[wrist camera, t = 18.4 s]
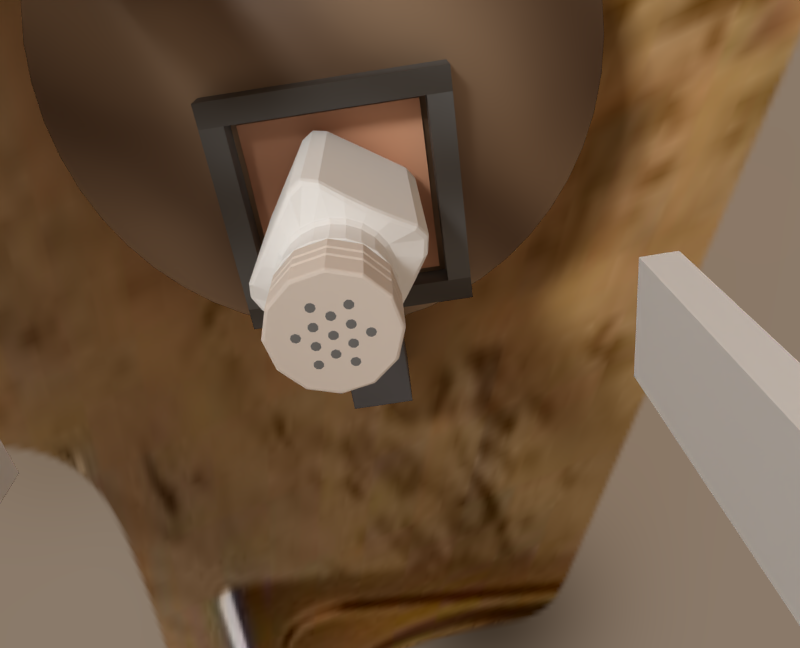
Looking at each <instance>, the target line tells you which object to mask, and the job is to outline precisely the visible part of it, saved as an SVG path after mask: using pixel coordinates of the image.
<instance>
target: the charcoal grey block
mask: <svg viewBox="0 0 800 648" xmlns="http://www.w3.org/2000/svg"><path fill="white" fill-rule="evenodd" d="M351 392H352V397H353V402H354V406H355V409H357V408H364V407H371V406H378V405H385V404H391V403H398V402H405V401H412V393H411V384H410V376H409V367H408V360H407V353H406V347H405V341H404V338H403V342H402V347H401V351H400V356H399V359H398V360H397V361H396V362H395V363H394V364H393V365H392V366H391V367H390V368H389V369H388V370H387V371H386V372H385V373H384V374H383V375H382V376H381V377H380V378H379V379H378V380H377V381H376V382H375V383H373V384H370V385H367V386H364V387H361V388H358V389H355V390H351Z"/></svg>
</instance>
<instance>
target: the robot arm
mask: <svg viewBox="0 0 800 648" xmlns="http://www.w3.org/2000/svg"><path fill="white" fill-rule="evenodd" d="M634 377H635V378H636V380H637V381H638V383H639V384H640V386H641V387H642V389H643V390H644V392H645V393H646V395H647V396H648V398H649V399H650V401H651V402H652V404H653V405H654V407H655V408H656V410H657V412H658V413H659V415H660V416H661V418H662V419H663V421H664V422H665V423H666V425H667V427H668V428H669V430H670V431H671V432H672V434H673V436H674V437H675V439H676V440H677V442H678V443H679V445H680V446H681V448H682V449H683V451H684V452H685V454H686V455H687V457H688V458H689V460H690V461H691V463H692V464H693V466H694V467H695V469H696V470H697V472H698V473H699V475H700V476H701V478H702V479H703V481H704V482H705V484H706V485H707V487H708V488H709V490H710V491H711V493H712V494H713V496H714V497H715V499H716V500H717V502H718V503H719V505H720V506H721V508H722V509H723V511H724V513H725V514H726V515H727V517H728V519H729V520H730V522H731V523H732V525H733V526H734V528H735V529H736V531H737V532H738V534H739V535H740V536H741V538H742V540H743V541H744V543H745V544H746V546H747V547H748V549H749V550H750V551H751V553H752V555H753V556H754V558H755V559H756V561H757V562H758V564H759V565H760V567H761V568H762V570H763V571H764V573H765V574H766V576H767V577H768V578H769V580H770V582H771V583H772V585H773V586H774V588H775V589H776V591H777V592H778V594H779V595H780V597H781V598H782V600H783V601H784V603H785V604H786V606H787V607H788V609H789V610H790V612H791V614H792V615H793V617H794V618H795V619H796V621H797V623H798V624H799V626H800V363H799V362H798V361H797V360H796V359H795V358H794V357H793V356H792V355H791V354H790V353H788V352H787V351H786V350H785V349H784V348H783V347H782V346H781V345H780V344H779V343H778V342H777V341H776V340H775V339H773V338H772V337H771V336H770V335H769V334H768V333H767V332H766V331H765V330H764V329H763V328H761V327H760V326H759V325H758V324H757V323H756V322H755V321H754V320H753V319H752V318H751V317H750V316H749V315H748V314H746V313H745V312H744V311H743V310H742V309H741V308H740V307H739V306H738V305H737V304H736V303H735V302H734V301H733V300H731V299H730V298H729V297H728V296H727V295H726V294H725V293H724V292H723V291H722V290H721V289H720V288H718V287H717V286H716V285H715V284H714V283H713V282H712V281H711V280H710V279H709V278H708V277H707V276H706V275H705V274H703V273H702V272H701V271H700V270H699V269H698V268H697V267H696V266H695V265H694V264H693V263H692V262H691V261H689V260H688V259H687V258H686V257H685V256H684V255H683V254H682V253H681V252H680V251H676V252H670V253H663V254H657V255H651V256H644V257H639V272H638V296H637V319H636V343H635V366H634ZM18 474H19V472H18V470H17V469H16V466H15V465H14V463H13V461H12V459H11V458H10V456H9V454H8V452H7V450H6V449H5V447H4V445H3V443H2V442H1V440H0V503H1V502H2V500H3V498H4V497H5V495H6V493H7V492H8V490H9V488H10V487H11V485H12V484H13V482H14V480H15V478H16V477H17V475H18Z"/></svg>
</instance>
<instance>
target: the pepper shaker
mask: <svg viewBox="0 0 800 648" xmlns="http://www.w3.org/2000/svg"><path fill="white" fill-rule="evenodd" d="M428 243H429V233H428V229H427V225H426V221H425V217H424V212H423V208H422V204H421V200H420V196H419V192H418V188H417V184H416V180H415V177H414V176H413V175H412V174H411V173H410V172H409V171H408V169H407V168H405V167H403V166H401V165H399V164H397V163H395V162H393V161H390V160H388V159H386V158H384V157H382V156H380V155H377V154H375V153H373V152H371V151H369V150H367V149H365V148H362V147H360V146H358V145H356V144H354V143H352V142H349V141H347V140H345V139H343V138H341V137H339V136H337V135H334V134H332V133H330V132H328V131H312V132H311V133H310V134H309V135H308V136H306V137H305V138H304V139H303V140H302V143H301V145H300V148H299V150H298V153H297V155H296V157H295V160H294V162H293V165H292V167H291V170H290V172H289V175H288V177H287V179H286V182H285V184H284V187H283V189H282V192H281V194H280V197H279V199H278V201H277V204H276V206H275V209H274V211H273V214H272V216H271V219H270V222H269V225H268V228H267V231H266V234H265V237H264V240H263V243H262V246H261V249H260V252H259V255H258V258H257V261H256V264H255V267H254V270H253V273H252V276H251V279H250V282H249V287H250V295H251V298H252V299H253V300H254V302H255V303H256V304H257V305H258V306H259V307H260V308H261V309H262V310H263V311H264V318H263V327H262V337H261V341H262V343H263V345H264V346H265V348H266V350H267V352H268V354H269V356H270V358H271V360H272V362H273V364H274V365H275V367H276V369H277V370H278V371H279V372H281V373H282V374H284V375H285V376H287V377H288V378H290V379H292V380H293V381H295V382H296V383H298V384H299V385H301V386H302V387H304V388H306V389H309V390H317V391H325V392H333V393H341V394H342V393H345V392H348V391H351V390H355V389H358V388H361V387H364V386H367V385H370V384H373V383H375V382H376V381H377V380H378V379H379V378H380V377H381V376H382V375H383V374H384V373H385V372H386V371H387V370H388V369H389V368H390V367H391V366H392V365H393V364H394V363H395V362H396V361H397V360H398V359H399V356H400V351H401V347H402V342H403V338H404V333H405V329H406V324H405V316H404V308H403V303H404V301H405V299H406V297H407V295H408V293H409V291H410V289H411V287H412V286H413V284H414V282H415V280H416V278H417V275H418V273H419V271H420V269H421V267H422V265H423V263H424V260H425V258H426V256H427V254H428Z"/></svg>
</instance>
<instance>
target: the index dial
mask: <svg viewBox="0 0 800 648" xmlns="http://www.w3.org/2000/svg"><path fill="white" fill-rule="evenodd" d="M21 12H22V26H23V40H24V47H25V52H26V57H27V62H28V67H29V72H30V78H31V83H32V86H33V89H34V92H35V95H36V98H37V101H38V104H39V108H40V111H41V114H42V117H43V120H44V123H45V125H46V127H47V129H48V131H49V133H50V136H51V138H52V140H53V142H54V144H55V147H56V149H57V151H58V153H59V155H60V157H61V159H62V161H63V162H64V164H65V166H66V167H67V169H68V171H69V172H70V174H71V176H72V177H73V179H74V181H75V182H76V184H77V186H78V187H79V189H80V190H81V192H82V193H83V194H84V196H85V197H86V198H87V199H88V201H89V202H90V203H91V205H92V206H93V207H94V209H95V210H96V211H97V212H98V214H99V215H100V216H101V218H102V219H103V220H104V221H105V222H106V223H107V224H108V225H109V226H110V227H111V228H112V229H113V230H114V231H115V233H116V234H117V235H118V236H119V237H120V238H121V239H122V240H123V241H124V242H125V243H126V244H127V245H128V246H129V247H130V248H132V249H133V250H134V251H135V252H136V253H138V254H139V255H140V256H141V257H142V258H144V259H145V260H146V261H147V262H149V263H150V264H151V265H152V266H153V267H155V268H156V269H157V270H159V271H160V272H162V273H164V274H165V275H167V276H168V277H170V278H171V279H173V280H174V281H176V282H177V283H179V284H180V285H182V286H183V287H185V288H187V289H189V290H191V291H193V292H195V293H197V294H199V295H201V296H203V297H205V298H207V299H209V300H211V301H213V302H215V303H218V304H220V305H223V306H226V307H228V308H231V309H233V310H236V311H239V312H241V313H244V314H248V315H250V316H251V319H252V323H253V326H254V329H259V328H262V327H263V318H264V311H263V310H262V309H261V308H260V307H259V306H258V305H257V304H256V303H255V302H254V300H253V299H252V298H251V295H250V287H249V282H250V279H251V276H252V273H253V270H254V267H255V264H256V261H257V258H258V255H259V252H260V249H261V246H262V243H263V240H264V237H265V234H266V231H267V228H268V225H269V222H270V219H271V216H272V214H273V211H274V209H275V206H276V204H277V201H278V199H279V197H280V194H281V192H282V189H283V187H284V184H285V182H286V179H287V177H288V175H289V172H290V170H291V167H292V165H293V162H294V160H295V157H296V155H297V153H298V150H299V148H300V145H301V143H302V140H303V139H304V138H305V137H306V136H308V135H309V134H310V133H311V132H312V131H328V132H330V133H332V134H334V135H337V136H339V137H341V138H343V139H345V140H347V141H349V142H352V143H354V144H356V145H358V146H360V147H362V148H365V149H367V150H369V151H371V152H373V153H375V154H377V155H380V156H382V157H384V158H386V159H388V160H390V161H393V162H395V163H397V164H399V165H401V166H403V167H405V168H407V169H408V171H409V172H410V173H411V174H412V175H413V176H414V177H415V180H416V184H417V188H418V192H419V196H420V200H421V204H422V208H423V212H424V217H425V221H426V225H427V229H428V233H429V243H428V254H427V256H426V258H425V260H424V263H423V265H422V267H421V269H420V271H419V273H418V275H417V278H416V280H415V282H414V284H413V286H412V287H411V289H410V291H409V293H408V295H407V297H406V299H405V301H404V303H403V308H404V315H406V314H409V313H412V312H415V311H418V310H421V309H424V308H427V307H429V306H431V305H434V304H436V303H438V302H442V301H449V300H455V299H462V298H469V297H473V295H472V285H471V284H473V283H474V282H476V281H478V280H479V279H481V278H482V277H483V276H485V275H486V274H487V273H489V272H490V271H491V270H492V269H494V268H495V267H496V266H497V265H499V264H500V263H501V262H502V261H504V260H505V259H506V258H507V257H508V256H509V255H510V254H511V253H512V252H513V251H514V250H515V249H516V248H517V247H518V246H519V245H520V244H521V243H522V242H523V241H524V240H525V239H526V238H527V237H528V236H529V235H530V234H531V233H532V231H533V230H534V229H535V227H536V226H537V225H538V224H539V222H540V221H541V220H542V218H543V217H544V216H545V215H546V213H547V212H548V211H549V210H550V208H551V207H552V205H553V203H554V202H555V200H556V198H557V197H558V195H559V193H560V192H561V190H562V188H563V187H564V185H565V183H566V182H567V180H568V178H569V176H570V174H571V172H572V170H573V167H574V165H575V163H576V161H577V159H578V156H579V154H580V152H581V150H582V148H583V145H584V142H585V139H586V135H587V132H588V129H589V126H590V123H591V120H592V117H593V113H594V110H595V104H596V99H597V94H598V89H599V83H600V78H601V71H602V57H603V42H604V24H603V5H602V0H21Z"/></svg>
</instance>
